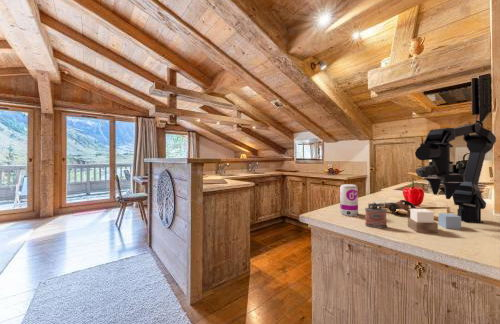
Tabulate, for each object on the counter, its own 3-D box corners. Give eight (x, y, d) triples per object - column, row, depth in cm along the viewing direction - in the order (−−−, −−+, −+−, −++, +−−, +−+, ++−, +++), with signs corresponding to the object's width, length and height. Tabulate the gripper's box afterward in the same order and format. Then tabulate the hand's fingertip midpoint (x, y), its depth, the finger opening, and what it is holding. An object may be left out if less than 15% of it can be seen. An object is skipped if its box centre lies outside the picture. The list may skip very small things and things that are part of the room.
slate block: (452, 225, 91) (452, 213, 91) (461, 229, 87) (461, 216, 86) (438, 224, 93) (438, 213, 92) (446, 228, 88) (446, 216, 88)
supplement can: (361, 216, 108) (360, 185, 108) (344, 216, 108) (343, 186, 108) (353, 212, 116) (353, 183, 116) (337, 212, 116) (337, 184, 116)
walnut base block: (427, 227, 90) (427, 218, 90) (437, 233, 83) (437, 223, 83) (408, 227, 92) (407, 217, 91) (416, 233, 85) (416, 222, 85)
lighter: (365, 226, 93) (365, 203, 93) (364, 224, 96) (364, 201, 96) (387, 228, 90) (387, 204, 90) (385, 225, 93) (385, 202, 93)
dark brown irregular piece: (402, 212, 115) (411, 200, 111) (412, 225, 106) (422, 212, 103) (380, 207, 114) (388, 194, 110) (389, 220, 106) (398, 207, 102)
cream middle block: (425, 218, 89) (425, 208, 89) (433, 222, 84) (433, 212, 84) (410, 218, 90) (410, 208, 90) (417, 222, 85) (417, 212, 85)
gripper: (408, 159, 102) (409, 192, 102) (429, 160, 84) (430, 201, 84) (436, 158, 99) (437, 192, 99) (465, 159, 81) (465, 201, 81)
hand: (441, 196), depth 91 cm, fingers open, 9 cm apart
